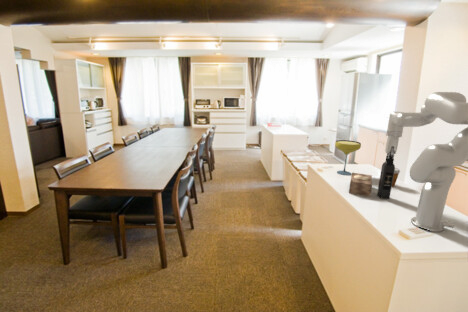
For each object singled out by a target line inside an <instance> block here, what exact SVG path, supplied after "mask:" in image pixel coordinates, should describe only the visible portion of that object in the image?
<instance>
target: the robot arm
mask: <svg viewBox="0 0 468 312" xmlns="http://www.w3.org/2000/svg"><path fill="white" fill-rule="evenodd" d="M436 119H440V120H441V121H443V122H445V123H447V124H451V125H468V102H467V98H466V96H465V95H464V94H463V93H460V92H456V91H437V92H433V93H431V94H429V95H428V96H427V97H426V98H425V100H424V103H423V104H422V105H421V108H420V112H403V111H391V112H390V114H389V117H388V122H387V123H388V124H387V129H386V137H387V138H386V145H385V150H384V151H385V154H386V157H385V162H386V161H387V163H386V165H390V166H393V164H394V161H395V155H396V154H397V151H398V145H399V141H400V138H402V137H403V133H404V132H403V131H404V127H405V128H407V127H410V128H416V127H418V128H419V127H424V126H427V125H430V124H432V123H433V122H434V121H436ZM390 152H391V153H390ZM388 153H389V154H388ZM387 157H388V158H387ZM467 160H468V126H467V127H466V128H464V129H462V130H461V131H459V132H458V133H457V134H455V136H454V137H453V139H451V141H449V142H448V143H443V144H442V143H436V144H431V145H428V146H427V147H426V148H424V149H423V150H422V152H421V153H420V154H419V155H418V157H417V158H416V160H415V161H414V162H413V163H412V164H411V166H410V169H409V177H410V179H411V180H412V181H414V182H416V183H417V184H418V183H419V184H423V186H422V188H421V192H420V196H419V200H418V204H417V210H416V212H415V213H416V214H415V216H414V217H411V219H410V223H411V224H413V225H414V226H415V227H417V228H419V227H421V228H425V229H429V230H431V231H430V232H435V233H440V232H443V231H444V228H445V227H446V228H447V227H448V228H450V229H451V228H452V229H454V227H455V224H454V223H452V222H451V223H450V222H449V221H448V220H443V214H444V210H445V206H446V202H447V198H448V194H449V191H450V188H451V186H452V184H453V182H454V180H455V178H456V175H457V173H456V171H457V170H456V168H455V167H458V166H462V165H463V164H465V163H466V162H467ZM421 228H420V229H421Z"/></svg>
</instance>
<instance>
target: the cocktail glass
mask: <svg viewBox="0 0 468 312" xmlns="http://www.w3.org/2000/svg"><path fill="white" fill-rule="evenodd" d="M334 145H335V147H336V148H337V150H339V151H341V152H342V153H343V154H344V155H345V160H344V167H343V170H338V171H336V173H337V174H338V175H342V176H352V172H351V171H346V165H347V156H348V155H350V154H351V153H353V152H357V151H359V150H360V149H361V147H362V144H361V142H359V141H355V140H345V139H343V140H342V139H339V140H336V141H335V143H334Z"/></svg>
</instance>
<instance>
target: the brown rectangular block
mask: <svg viewBox="0 0 468 312" xmlns="http://www.w3.org/2000/svg"><path fill="white" fill-rule="evenodd" d="M350 176H351V177H350V182H349V189H348V194H350V195H351V194H353V195H356V196H363V197H369V198H371V192H372V189H373V181H372V180H373V177H372V176H373V175H371V174H365V173H359V172H358V173H356V172H351V175H350Z"/></svg>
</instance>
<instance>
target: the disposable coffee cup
mask: <svg viewBox="0 0 468 312" xmlns="http://www.w3.org/2000/svg"><path fill="white" fill-rule="evenodd" d="M400 173H401V170H400V168H397V167H395V171H394V177H393V182H392V187H391V188H393V187H395V185H396V182H397V179H398V177H399V174H400Z"/></svg>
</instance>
